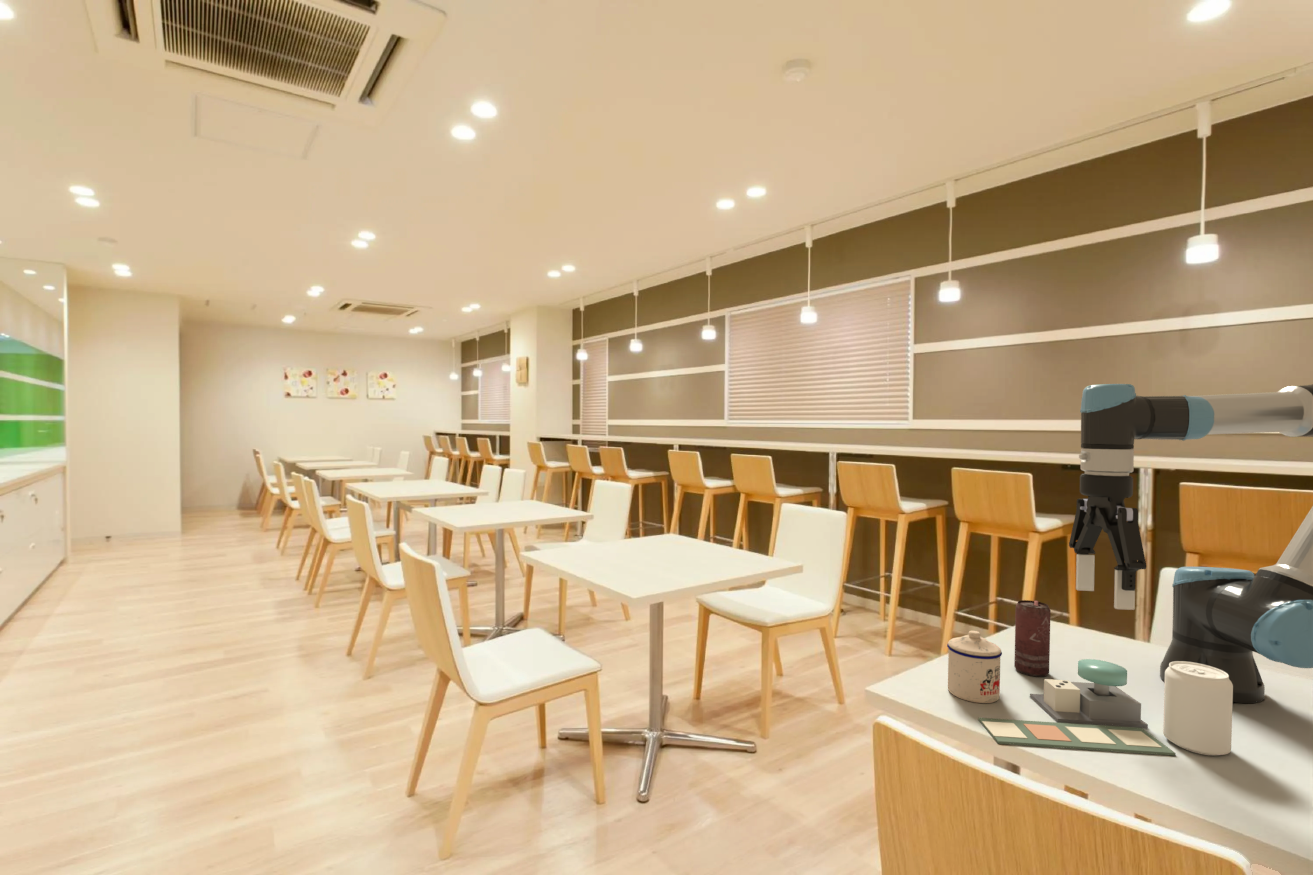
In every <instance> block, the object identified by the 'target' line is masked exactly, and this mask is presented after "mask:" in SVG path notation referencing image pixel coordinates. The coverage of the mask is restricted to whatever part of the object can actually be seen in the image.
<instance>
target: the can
mask: <svg viewBox="0 0 1313 875" xmlns="http://www.w3.org/2000/svg"><path fill="white" fill-rule="evenodd" d="M1051 614H1052V612H1051V609H1050V607H1049V605H1048V604H1047V603H1044V602H1041V601H1038V600H1027V599H1026V600H1025V599H1023V600H1022V599H1021V600H1018V601H1017V603H1016V604H1015V621H1014V622H1015V626H1014V629H1015V630H1014V668H1015V670H1016V671H1017V672H1019V673H1020V674H1023V675H1026V676H1029V677H1034V678H1044V677H1046V676H1048V675H1049V674H1050V655H1051V654H1050V652H1051V651H1050V650H1051V649H1050V648H1051V642H1050V641H1051Z"/></svg>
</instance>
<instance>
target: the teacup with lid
mask: <svg viewBox="0 0 1313 875" xmlns="http://www.w3.org/2000/svg"><path fill="white" fill-rule="evenodd" d="M946 647H947V648H948V651H947V652H948V657H947V660H948V661H947V663H948V664H947V689H948V691H949V692H950V693H951V695H953V696H954V697H956V698H959V699H961V700H963V701H967V702H970V703H977V704H992V703H995V702H997V701H999V700H1000V691H1001V690H1000V689H1001V688H1000V686H1001V685H1000V684H1001V657H1002V655H1003V652H1002V649H1001V647H999V645H997V644H996V643H994V642H991V641H988V640H987V639H986V638H984V637H982V636H981V633H980V632H979V630H978V631H977V630H969V631H968V633H967V634H965V635H962V636H959V637H953V638H951V639H949V640H948V642H947V646H946Z"/></svg>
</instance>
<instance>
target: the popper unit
mask: <svg viewBox="0 0 1313 875" xmlns="http://www.w3.org/2000/svg"><path fill="white" fill-rule="evenodd" d="M1029 697H1030V698H1031V699H1032V700H1033V702H1035V703H1036V704H1037V705H1038V706H1039V707H1040V708H1041V709H1042V710H1044V711H1045V712H1046V714H1048V715H1049V716H1050V717H1051V719H1053V721H1055V722H1056V723H1072V724H1088V725H1104V726H1119V727H1135V728H1143V729H1149V725H1148V723H1146V722H1145V720H1142V703H1141V702H1139V701H1138V700H1136V699H1135V698H1134V697H1132V696H1131V695H1129V694H1128V693H1126V692H1125V691H1124V690H1122V689H1120V688H1119V686H1110V688H1109V696H1097V695H1096V694H1094V683H1093V682H1079V681H1070V680H1068V679H1067V680H1066V679H1052V678H1044V680H1043V694H1041V693H1040V694H1039V693H1030V694H1029Z"/></svg>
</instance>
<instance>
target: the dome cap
mask: <svg viewBox="0 0 1313 875" xmlns="http://www.w3.org/2000/svg"><path fill="white" fill-rule="evenodd" d="M1077 675H1078V677H1080V678H1082V679H1083V680H1085V681H1088V682H1089V683H1094V694H1096V695H1097V696H1109V688H1110V686H1116V687H1123V686H1126V685H1127V683H1128V670H1127V669H1126V668H1125V667H1123V666H1121V665H1119V664H1116V663H1113V662H1110V661H1107V660H1100V659H1094V658H1093V659H1092V658H1084V659H1080V660H1078V661H1077Z"/></svg>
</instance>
